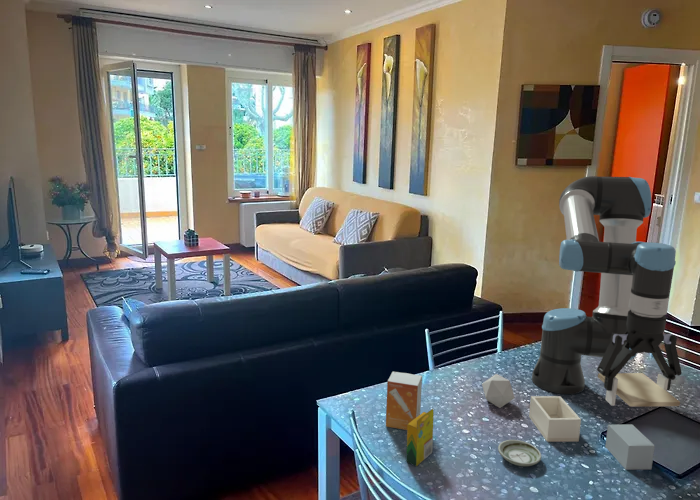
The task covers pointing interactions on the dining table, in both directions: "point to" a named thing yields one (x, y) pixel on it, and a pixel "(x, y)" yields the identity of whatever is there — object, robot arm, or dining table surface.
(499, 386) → the die
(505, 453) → the saucer
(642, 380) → the sheet
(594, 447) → the dining table surface
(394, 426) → the small box
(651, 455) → the grey rectangular block
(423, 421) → the crayon box
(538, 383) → the robot arm
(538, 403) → the open beige tray
